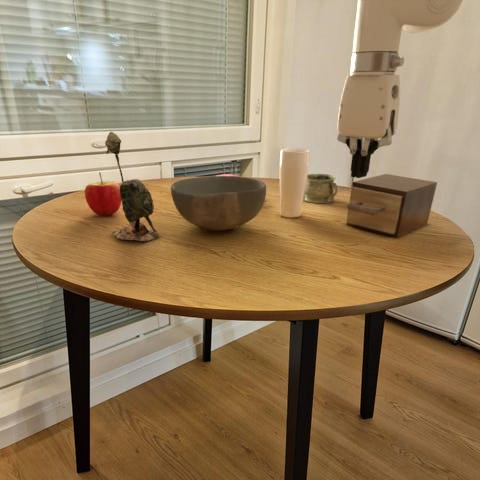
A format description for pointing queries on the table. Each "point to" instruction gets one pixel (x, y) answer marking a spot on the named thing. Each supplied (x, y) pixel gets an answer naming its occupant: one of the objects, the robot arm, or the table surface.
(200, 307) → the table surface
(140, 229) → the stone bird figurine
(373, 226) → the drawer
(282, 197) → the drinking glass
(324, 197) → the vessel
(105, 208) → the apple
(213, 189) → the bowl
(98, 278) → the table surface
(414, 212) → the cabinet
